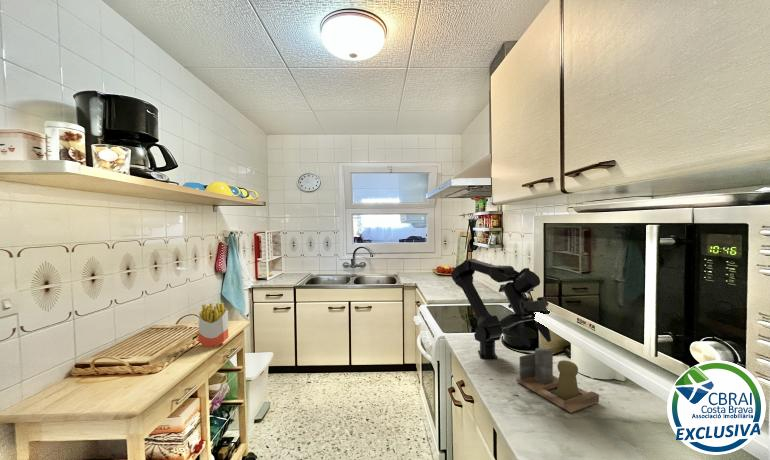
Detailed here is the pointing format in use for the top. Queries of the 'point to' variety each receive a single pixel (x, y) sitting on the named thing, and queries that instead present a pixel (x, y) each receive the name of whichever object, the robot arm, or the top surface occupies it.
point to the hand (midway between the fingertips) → (539, 343)
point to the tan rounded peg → (567, 380)
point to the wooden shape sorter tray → (549, 380)
